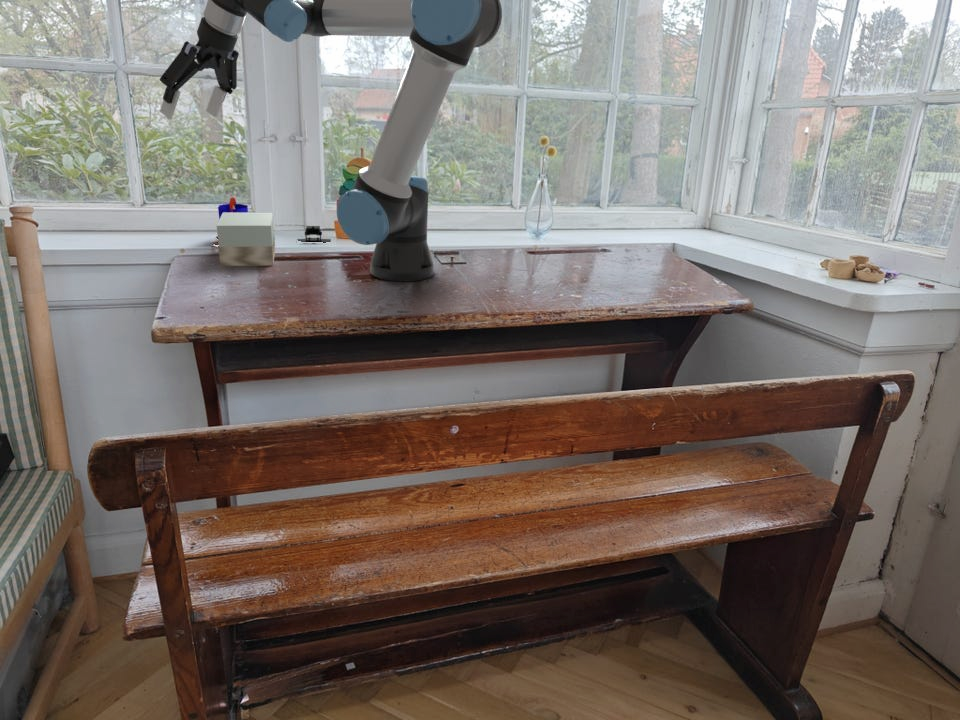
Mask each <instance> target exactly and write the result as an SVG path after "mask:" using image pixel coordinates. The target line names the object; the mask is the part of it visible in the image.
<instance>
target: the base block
mask: <svg viewBox="0 0 960 720" xmlns="http://www.w3.org/2000/svg"><path fill="white" fill-rule="evenodd" d="M217 250H218V256H219V266H220V267H249V266H250V267H251V266H253V267H257V266H274V261H275V257H276V256H275V255H276V238H275V235H274V238H273V246H269V247H219V246H218V248H217Z"/></svg>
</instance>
